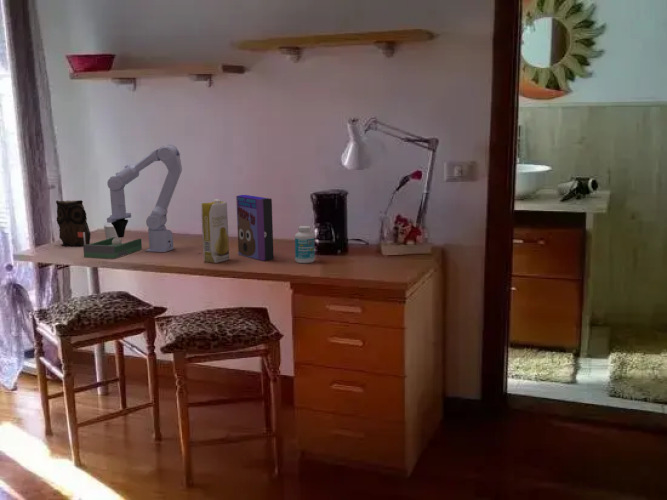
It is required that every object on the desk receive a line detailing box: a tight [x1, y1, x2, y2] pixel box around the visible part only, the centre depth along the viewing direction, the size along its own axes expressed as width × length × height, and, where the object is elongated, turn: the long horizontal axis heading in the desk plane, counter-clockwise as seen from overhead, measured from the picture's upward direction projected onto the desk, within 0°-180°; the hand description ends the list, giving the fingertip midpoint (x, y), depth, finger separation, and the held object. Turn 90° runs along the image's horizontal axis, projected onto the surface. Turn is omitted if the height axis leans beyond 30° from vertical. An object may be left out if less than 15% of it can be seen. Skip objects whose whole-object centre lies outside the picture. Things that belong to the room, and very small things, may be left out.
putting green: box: [78, 232, 143, 260], centre depth 311 cm, size 16×20×10 cm
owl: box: [55, 199, 92, 248], centre depth 329 cm, size 13×13×20 cm
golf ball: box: [112, 238, 123, 246], centre depth 313 cm, size 4×4×4 cm
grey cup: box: [103, 224, 121, 240], centre depth 339 cm, size 7×7×7 cm
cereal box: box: [235, 194, 274, 262], centre depth 296 cm, size 17×5×24 cm, turn 40°
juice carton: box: [200, 198, 230, 264], centre depth 291 cm, size 9×8×24 cm
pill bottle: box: [294, 225, 316, 264], centre depth 287 cm, size 8×7×14 cm
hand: (120, 237), depth 316 cm, fingers closed
